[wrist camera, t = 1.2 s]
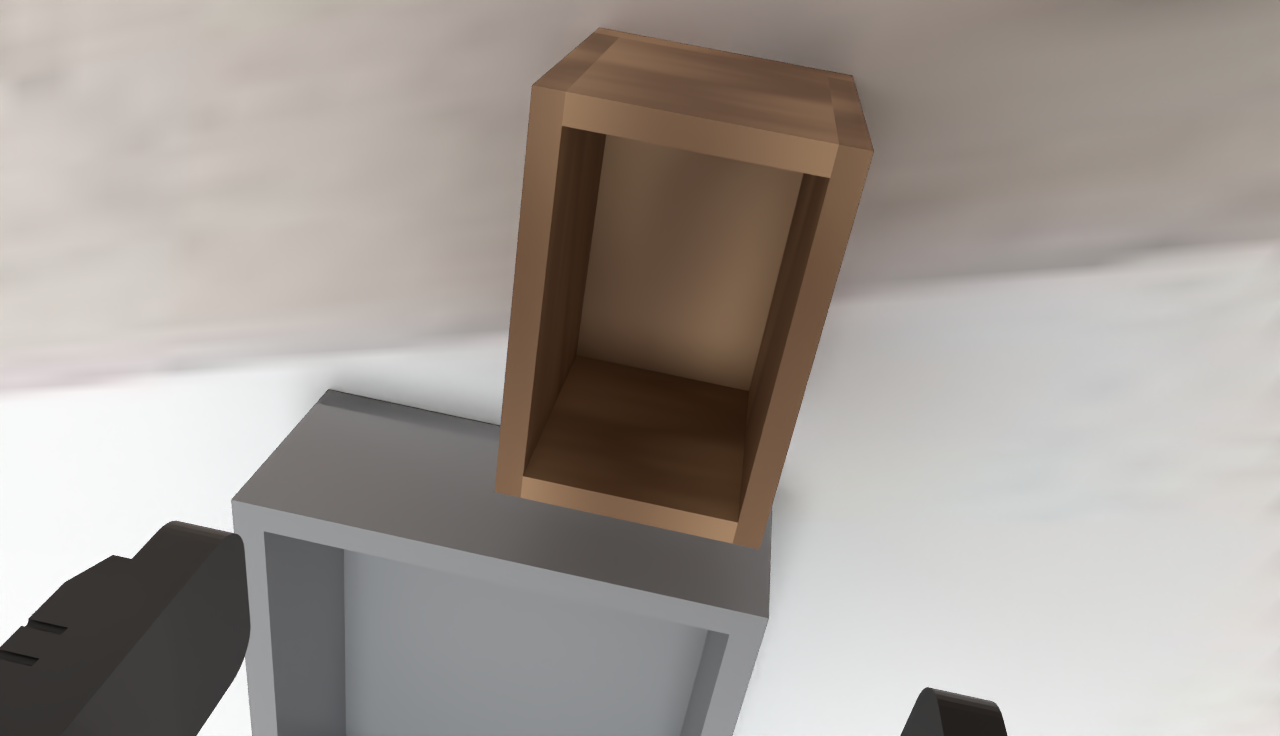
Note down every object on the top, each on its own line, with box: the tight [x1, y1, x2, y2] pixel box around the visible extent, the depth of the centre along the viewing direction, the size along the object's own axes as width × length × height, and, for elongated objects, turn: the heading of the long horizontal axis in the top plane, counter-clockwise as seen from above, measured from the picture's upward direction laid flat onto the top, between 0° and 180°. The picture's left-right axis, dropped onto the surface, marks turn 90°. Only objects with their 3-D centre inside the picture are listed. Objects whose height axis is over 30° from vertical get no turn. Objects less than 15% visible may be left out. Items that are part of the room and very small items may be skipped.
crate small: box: [494, 28, 874, 549], centre depth 21 cm, size 6×9×6 cm, turn 171°
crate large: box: [231, 390, 772, 736], centre depth 29 cm, size 14×16×6 cm
